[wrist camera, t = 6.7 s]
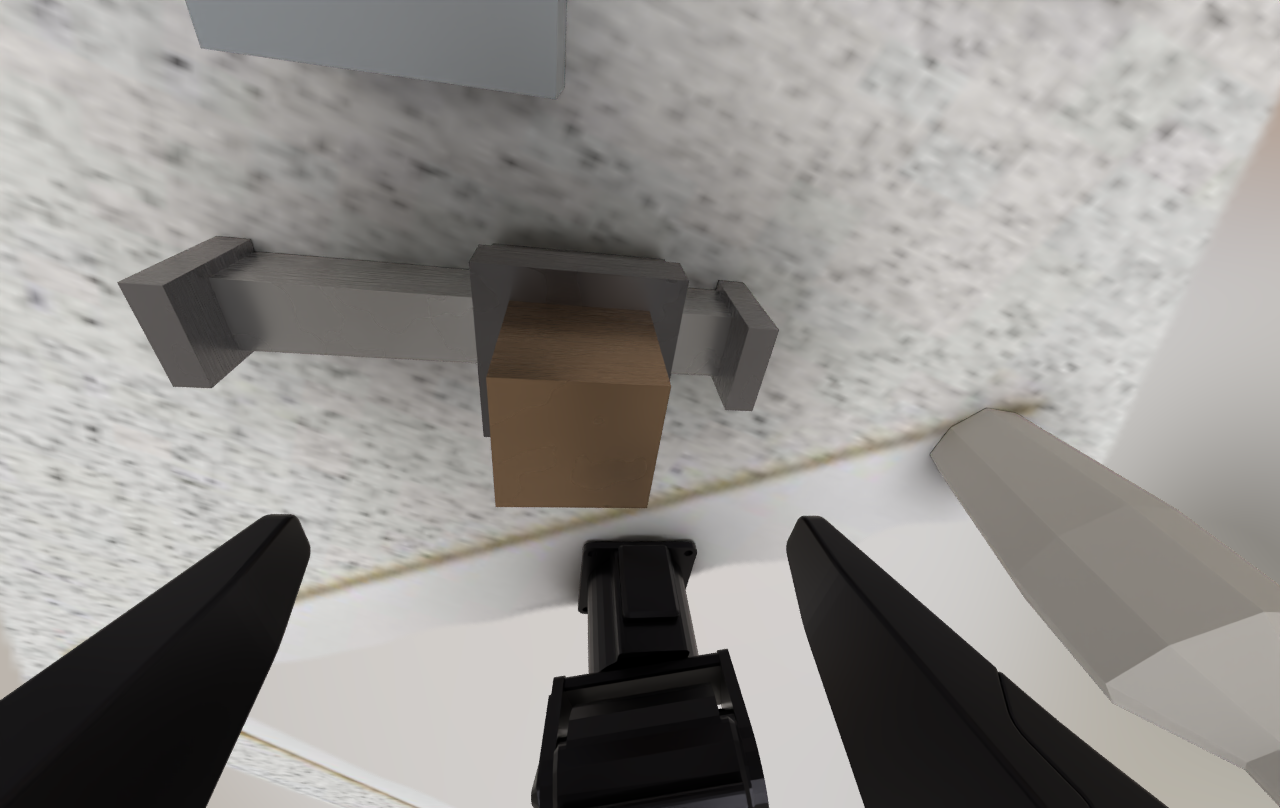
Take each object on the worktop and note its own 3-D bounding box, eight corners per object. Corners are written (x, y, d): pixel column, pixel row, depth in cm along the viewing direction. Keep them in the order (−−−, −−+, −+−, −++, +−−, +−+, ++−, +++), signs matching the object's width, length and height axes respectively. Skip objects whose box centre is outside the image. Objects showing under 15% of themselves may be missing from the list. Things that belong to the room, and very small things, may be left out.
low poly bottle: (1061, 424, 24) (2322, 1359, 7) (959, 499, 27) (1659, 1295, 10) (996, 374, 22) (2708, 1639, 4) (891, 463, 25) (1663, 1442, 7)
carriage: (645, 382, 20) (676, 532, 13) (499, 375, 19) (459, 531, 13) (668, 239, 16) (723, 349, 10) (491, 222, 15) (429, 331, 9)
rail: (724, 354, 20) (752, 411, 17) (250, 325, 17) (173, 386, 14) (743, 282, 18) (778, 329, 15) (215, 236, 15) (116, 282, 12)
